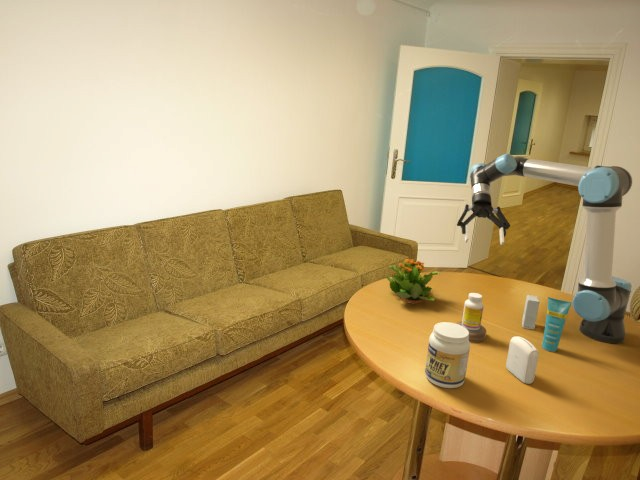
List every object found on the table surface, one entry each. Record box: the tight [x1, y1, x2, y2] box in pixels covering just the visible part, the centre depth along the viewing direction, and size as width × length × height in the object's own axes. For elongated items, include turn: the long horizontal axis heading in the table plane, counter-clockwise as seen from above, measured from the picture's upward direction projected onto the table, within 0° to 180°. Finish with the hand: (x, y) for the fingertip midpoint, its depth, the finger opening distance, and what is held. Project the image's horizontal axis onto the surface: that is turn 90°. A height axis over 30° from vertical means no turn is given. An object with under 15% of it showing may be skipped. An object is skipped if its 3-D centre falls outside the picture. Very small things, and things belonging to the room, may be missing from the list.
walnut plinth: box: [455, 320, 487, 343], centre depth 173 cm, size 11×11×3 cm
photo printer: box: [505, 335, 539, 385], centre depth 146 cm, size 10×4×12 cm, turn 15°
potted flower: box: [384, 258, 441, 304], centre depth 201 cm, size 25×24×18 cm
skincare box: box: [521, 294, 540, 331], centre depth 182 cm, size 6×4×12 cm
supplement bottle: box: [461, 292, 484, 330], centre depth 171 cm, size 7×7×13 cm
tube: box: [541, 296, 573, 353], centre depth 163 cm, size 7×5×19 cm, turn 60°
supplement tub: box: [424, 321, 471, 389], centre depth 142 cm, size 12×12×17 cm
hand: (484, 242), depth 181 cm, fingers open, 13 cm apart
